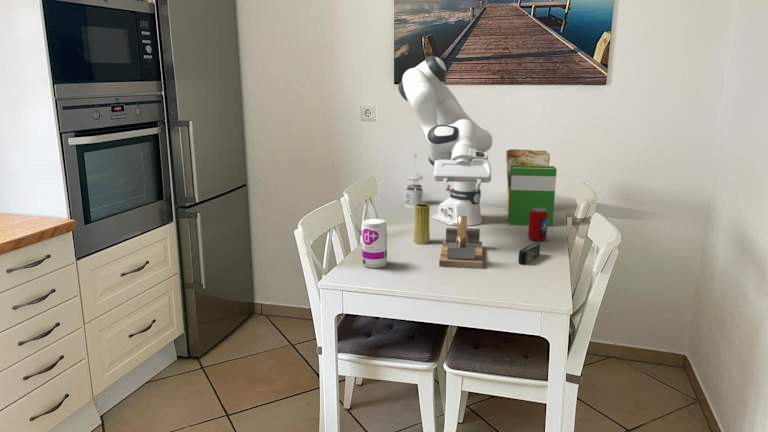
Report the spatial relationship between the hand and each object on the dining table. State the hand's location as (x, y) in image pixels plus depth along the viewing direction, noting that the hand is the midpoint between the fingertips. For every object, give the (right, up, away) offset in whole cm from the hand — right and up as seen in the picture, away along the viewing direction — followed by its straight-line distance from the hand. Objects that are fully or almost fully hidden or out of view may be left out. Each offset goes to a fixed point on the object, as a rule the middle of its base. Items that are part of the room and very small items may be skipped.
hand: (461, 190), depth 201 cm
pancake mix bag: (+38, -7, +64) cm, 75 cm away
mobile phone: (+23, -24, -3) cm, 33 cm away
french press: (-12, -4, +76) cm, 77 cm away
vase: (-13, -19, +17) cm, 28 cm away
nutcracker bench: (0, -23, -1) cm, 23 cm away
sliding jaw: (-1, -22, -7) cm, 23 cm away
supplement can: (-30, -25, -8) cm, 40 cm away
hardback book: (+35, -12, +42) cm, 56 cm away
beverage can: (+32, -18, +19) cm, 41 cm away
